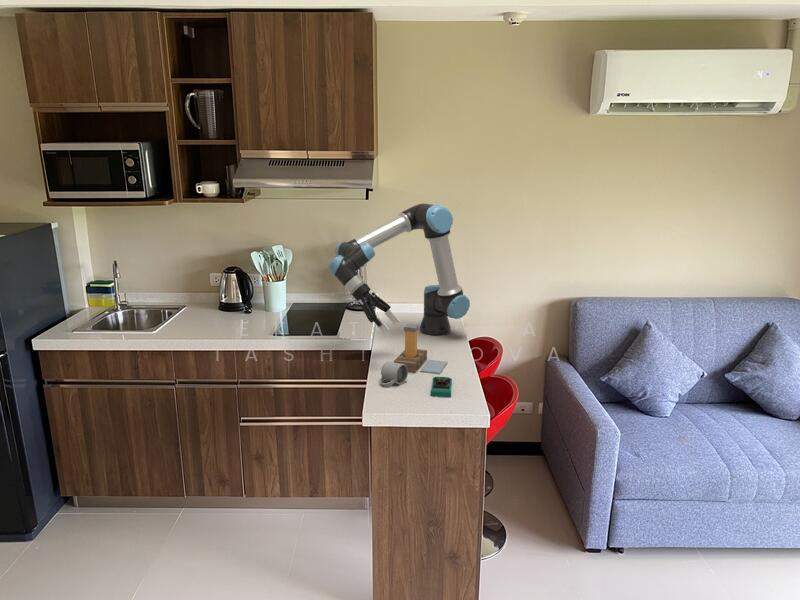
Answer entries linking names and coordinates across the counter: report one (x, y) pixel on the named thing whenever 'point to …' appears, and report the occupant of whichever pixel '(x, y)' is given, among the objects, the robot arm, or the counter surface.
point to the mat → (434, 366)
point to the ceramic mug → (393, 373)
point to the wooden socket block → (412, 360)
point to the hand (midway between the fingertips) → (392, 327)
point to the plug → (411, 340)
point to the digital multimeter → (441, 387)
